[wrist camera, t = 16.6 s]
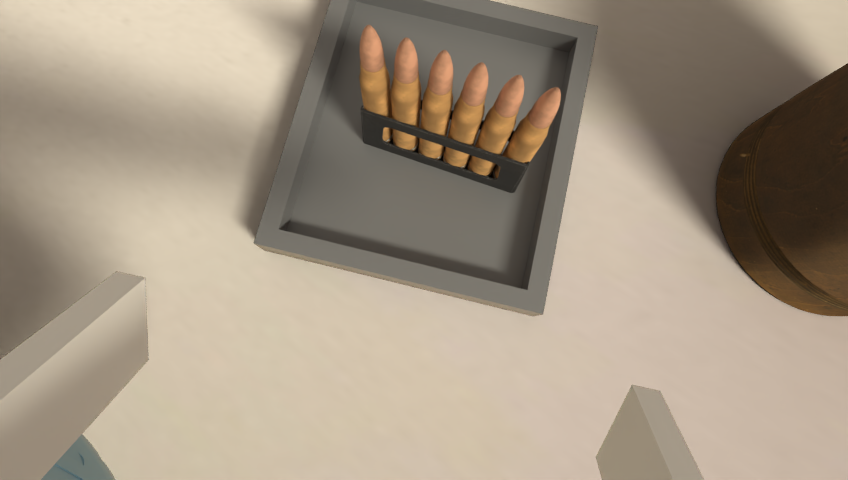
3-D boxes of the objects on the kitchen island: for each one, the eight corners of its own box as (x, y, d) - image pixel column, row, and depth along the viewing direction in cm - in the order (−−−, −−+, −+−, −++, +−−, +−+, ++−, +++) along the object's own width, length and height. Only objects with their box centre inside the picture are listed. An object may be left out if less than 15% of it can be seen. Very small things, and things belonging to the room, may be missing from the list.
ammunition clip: (521, 169, 34) (583, 77, 22) (513, 194, 34) (572, 114, 22) (372, 118, 34) (355, 2, 23) (362, 143, 34) (340, 37, 22)
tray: (264, 250, 33) (253, 243, 31) (345, -11, 37) (341, -35, 35) (533, 316, 33) (542, 314, 30) (585, 46, 37) (597, 26, 34)
